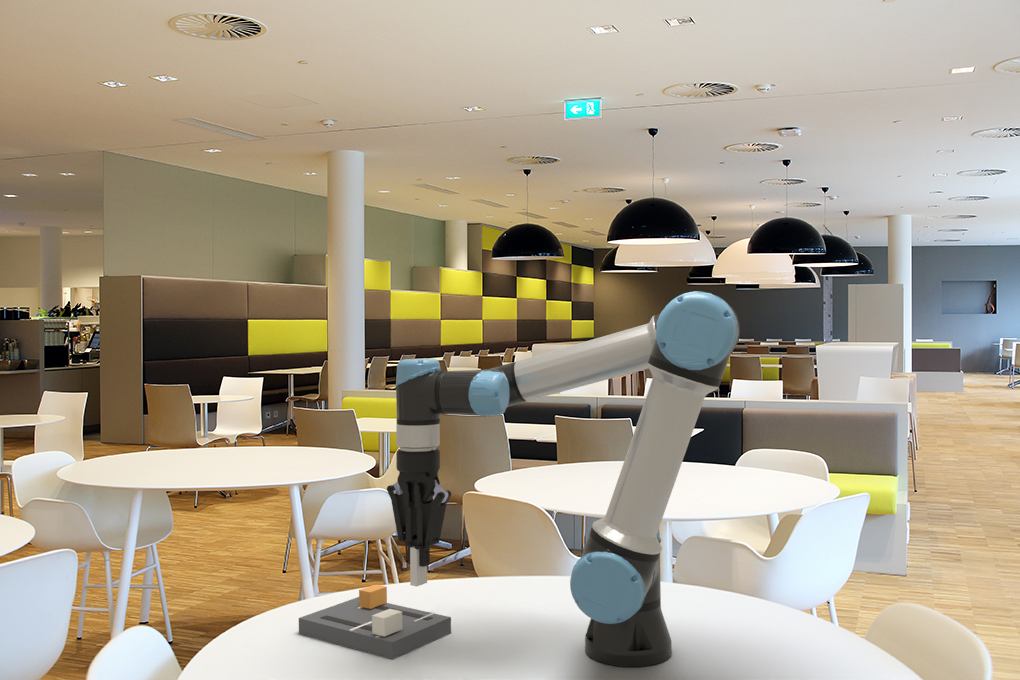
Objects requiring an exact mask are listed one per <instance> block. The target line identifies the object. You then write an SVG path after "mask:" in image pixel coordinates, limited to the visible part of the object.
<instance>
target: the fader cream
mask: <svg viewBox="0 0 1020 680" xmlns="http://www.w3.org/2000/svg"><path fill="white" fill-rule="evenodd" d="M399 630H402V611H398V610H394V609H388V610H385V611H382V612H380V613H377V614H375V615H372V634H376V635H380V636H384V637H385V636H387V635H390V634H392V633H395V632H397V631H399Z"/></svg>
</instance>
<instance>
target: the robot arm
mask: <svg viewBox="0 0 1020 680" xmlns="http://www.w3.org/2000/svg"><path fill="white" fill-rule="evenodd" d="M739 321H740V320H739V317H738V315H737V312H736V311H735V310H734V308H733V307H732V306H731V305H730V303H729V302H727V301H726V300H724V299H722V298H721V297H719V296H718V295H715V294H712V293H711V292H705V291H701V290H699V291H697V290H696V291H690V292H685V293H682V294H679V295H678V296H676V297H675V298H673V299H672V300H671V301H669V302H668V303H667V304H666V305H665V307H664V308H663V309H662V311H661V312H660V313H659V314H655V315H652V317H651V318H650V321H649V322H648V323H645V324H642V325H638V326H634V327H631V328H627V329H624V330H621V331H617V332H613V333H611V334H607V335H604V336H600V337H597V338H593V339H590V340H585V341H583V342H579V343H576V344H573V345H569V346H565V347H562V348H559V349H555V350H552V351H547V352H545V353H541V354H538V355H533V356H531V357H528V358H527V357H526V358H524V359H520V360H518V361H517V360H516V361H514V362H510V363H506V364H503V365H500V366H496V367H491V368H488V369H487V368H486V369H477V370H456V371H455V370H454V371H452V370H451V371H450V370H441V369H442V368H441V366H440V364H441V363H440V362H439V360H438V359H433V358H432V359H431V358H430V359H429V358H408V359H407V358H406V359H401V360H400V361H398V363H397V365H396V380H395V386H394V388H395V389H396V390H395V393H396V394H395V395H396V401H395V402H396V434H395V435H396V438H395V439H396V443H395V445H396V446H397V448H398V449H397V451H396V457H395V458H396V465H395V466H396V470H397V471H398V473H399V474H398V476H397V481H396V482H394V483H393V484H391V485H388V486H387V487H386V491H387V493H388V496H389V498H390V501H391V506H392V512H393V518H394V523H395V524H394V525H395V529H396V534H397V539H398V541H399V542H403V543H404V544H405V545H406V546H407V564H408V565H409V567H410V569H409V576H410V577H409V578H410V580H409V582H410V586H413V587H419V586H422V585H425V584H427V583H428V566H430V561H431V560H430V559H431V557H430V556H431V555H430V554H431V553H430V552H431V550H430V549H431V547H432V546H434V545H437V544H439V543H440V539H441V535H442V530H443V523H444V519H445V513H446V508H447V504H448V502H449V500H450V499H451V496H452V492H451V491H450V490H445V489H444V488H443V487H442V486H441V483H440V478H439V470H440V469H441V451H440V449H439V448H437V447H439V446H440V444H441V438H440V437H441V436H440V435H441V433H440V432H441V430H440V426H441V415H445V416H446V415H456V416H476V417H477V416H479V417H483V418H486V417H491V416H493V417H494V416H498V417H499V416H502V415H503V414H504V413H506V409H507V408H509V407H511V406H516V405H519V404H522V403H525V402H528V401H532V400H536V399H540V398H543V397H547V396H550V395H554V394H558V393H562V392H566V391H569V390H574V389H577V388H580V387H584V386H588V385H593V384H597V383H600V382H603V381H607V380H611V379H614V378H618V377H621V376H626V375H629V374H633V373H637V372H640V371H645V370H648V369H649V371H650V373H651V376H652V380H651V382H650V385H649V388H648V391H647V394H646V397H645V399H644V403H643V406H642V408H641V411H640V415H639V417H638V421H637V423H636V426H635V429H634V431H633V434H632V438H631V440H630V443H629V446H628V450H627V453H626V455H625V457H624V461H623V463H622V466H621V468H620V469H621V470H620V472H619V475H618V479H617V481H616V483H615V486H614V489H613V493H612V495H611V499H610V501H609V505H608V507H607V511H606V513H605V516H603V517H602V518H600V519H597V520H595V521H593V523H592V524H591V528H590V531H589V534H588V535H587V536H588V537H587V539H586V542H585V544H584V548H583V551H582V554H581V556H580V558H579V559H577V561H576V563H575V564H574V566H573V568H572V570H571V576H570V581H569V583H570V584H569V587H570V592H571V596H572V599H573V600H574V603H575V604H576V607H578V609H579V610H580V611H581V612H582V613H583V614H584V615H586V616H587V617H588V618H590V620H589V624H588V625H587V630H586V633H585V636H584V650H585V654H586V655H587V656H588V657H590V659H593V660H595V661H597V662H600V663H603V664H606V665H612V666H617V667H618V666H619V667H635V668H636V667H646V666H652V665H656V664H661V663H663V662H664V661H666V660H669V658H670V657H671V656H672V650H673V649H672V638H671V636H670V631H669V629H668V625H667V623H666V620H665V617H664V614H663V611H662V604H661V603H662V601H661V600H662V599H661V598H662V597H661V596H662V595H661V594H662V593H661V590H662V589H661V553H662V549H663V548H662V545H661V542H662V539H661V534H660V526H661V523H662V520H663V518H664V515H665V513H666V512H665V511H666V509H667V506H668V503H669V500H670V498H671V495H672V492H673V489H674V486H675V483H676V481H677V478H678V475H679V472H680V469H681V466H682V464H683V461H684V457H685V455H686V453H687V450H688V446H689V443H690V440H691V438H692V435H693V432H694V429H695V426H696V423H697V421H698V418H699V415H700V412H701V410H702V406H703V403H704V401H705V397H707V395H708V394H710V393H713V392H714V391H716V390H719V387H720V385H721V382H722V380H723V376H724V374H725V371H726V369H727V367H728V363H729V360H730V358H731V354H732V353H733V351H734V350H735V348H736V347H737V344H738V342H739V339H740V335H741V324H740V322H739Z"/></svg>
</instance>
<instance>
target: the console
mask: <svg viewBox="0 0 1020 680" xmlns="http://www.w3.org/2000/svg"><path fill="white" fill-rule="evenodd" d="M388 609H394V610H398V611H402V630H399V631H397V632H395V633H392V634H390V635H387V636H385V637H384V636H380V635H376V634H372V615H375V614H377V613H380V612H382V611H385V610H388ZM451 633H452V617H451V616H448V615H443V614H437V613H435V612H430V611H425V610H421V609H417V608H412V607H407V606H402V605H398V604H395V603H389V602H387V603H385V604H382V605H380V606H377V607H374V608H372V609H369V608H364V607H360V606H359V596H358V597H357V596H356V597H354V598H352V599H350V600H349V599H348V600H345V601H343V602H340V603H337V604H335V605H332V606H329V607H326V608H323V609H319V610H318V611H314V612H311V613H309V614H306V615H303V616H301V617H298V635H301V636H306V637H308V638H309V637H310V638H313V639H316V640H321V641H324V642H327V643H331V644H335V645H338V646H342V647H347V648H349V649H353V650H357V651H360V652H364V653H368V654H371V655H374V656H379V657H382V658H386V659H389V660H395V659H397V658H400V657H402V656H403V655H405V654H408V653H410V652H412V651H415V650H417V649H419V648H421V647H423V646H426V645H428V644H430V643H432V642H434V641H436V640H439V639H441V638H443V637H445V636H448V635H450V634H451Z"/></svg>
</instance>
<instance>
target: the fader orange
mask: <svg viewBox="0 0 1020 680" xmlns="http://www.w3.org/2000/svg"><path fill="white" fill-rule="evenodd" d="M387 588H388V587H387V586H385V585H381V584H373V585H371V586H370V585H369V586H367V587H363V588H361V589H359V590H358V597H359V606H360V607H364V608H369V609H372V608H374V607H377V606H380V605H382V604H385V603H388V601H387V600H388V594H387V593H388V590H387Z"/></svg>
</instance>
